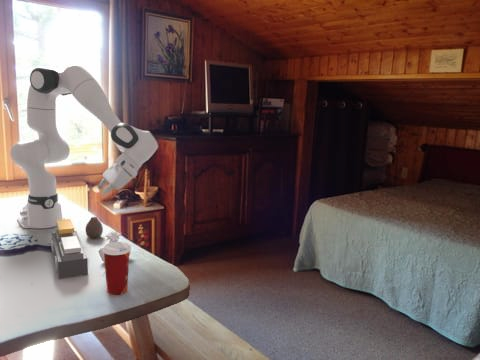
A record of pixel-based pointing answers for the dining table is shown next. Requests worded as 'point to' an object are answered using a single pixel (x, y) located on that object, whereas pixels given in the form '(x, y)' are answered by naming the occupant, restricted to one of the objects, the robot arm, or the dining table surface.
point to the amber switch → (65, 226)
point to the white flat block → (70, 244)
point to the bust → (113, 238)
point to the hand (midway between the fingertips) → (100, 191)
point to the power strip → (70, 265)
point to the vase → (94, 228)
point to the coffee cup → (116, 267)
